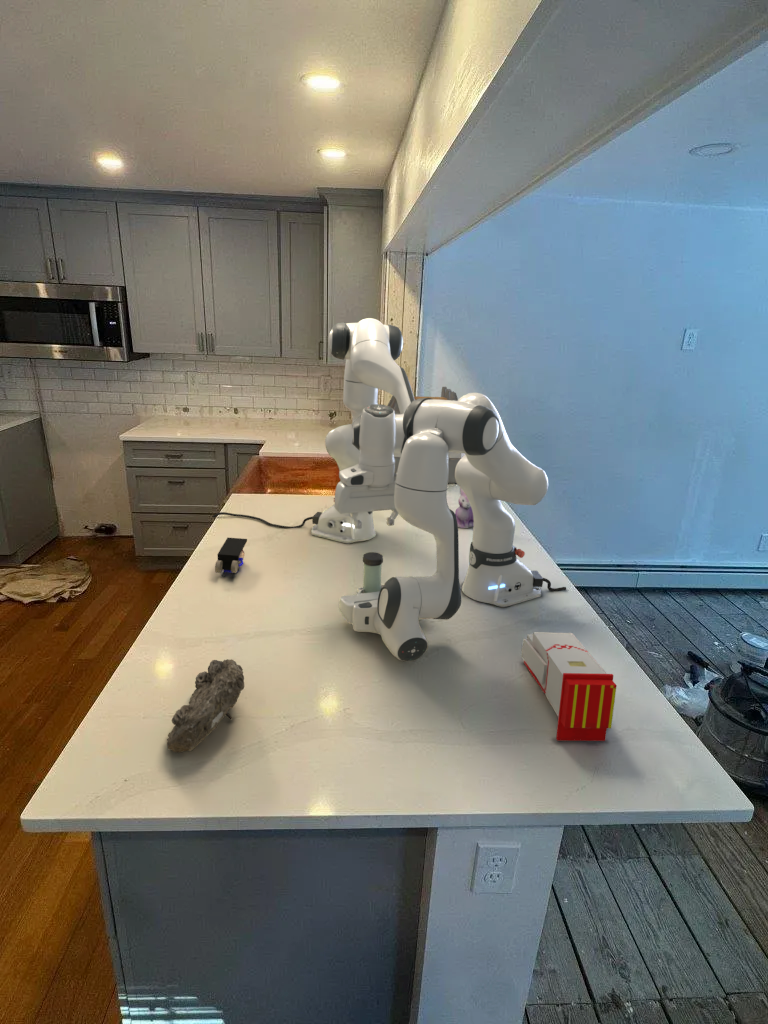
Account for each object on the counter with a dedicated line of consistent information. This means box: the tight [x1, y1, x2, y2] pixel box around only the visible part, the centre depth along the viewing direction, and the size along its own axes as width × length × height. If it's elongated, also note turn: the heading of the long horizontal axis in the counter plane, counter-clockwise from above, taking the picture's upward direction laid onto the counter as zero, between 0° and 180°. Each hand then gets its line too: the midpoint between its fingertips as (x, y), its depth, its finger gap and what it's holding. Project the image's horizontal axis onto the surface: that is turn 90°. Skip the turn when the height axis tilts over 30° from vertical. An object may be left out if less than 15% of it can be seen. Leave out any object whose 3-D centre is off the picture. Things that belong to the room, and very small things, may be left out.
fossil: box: [166, 658, 245, 754], centre depth 106 cm, size 22×10×15 cm
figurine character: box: [214, 537, 248, 578], centre depth 166 cm, size 7×8×15 cm
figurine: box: [454, 487, 474, 529], centre depth 209 cm, size 9×10×15 cm
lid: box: [362, 551, 384, 566], centre depth 145 cm, size 5×5×2 cm
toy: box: [520, 631, 618, 742], centre depth 117 cm, size 12×13×30 cm
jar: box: [362, 563, 383, 593], centre depth 148 cm, size 5×5×14 cm
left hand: (374, 526), depth 142 cm, fingers open, 7 cm apart
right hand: (370, 588), depth 149 cm, fingers closed on jar, 4 cm apart
